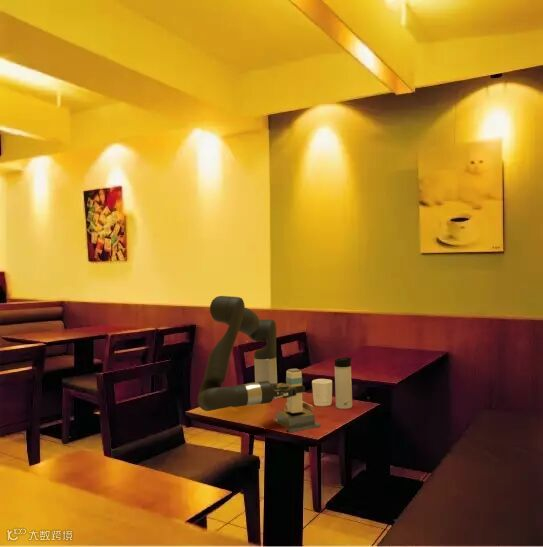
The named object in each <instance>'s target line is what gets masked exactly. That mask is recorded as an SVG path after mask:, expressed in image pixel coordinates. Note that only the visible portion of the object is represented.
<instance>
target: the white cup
mask: <svg viewBox="0 0 543 547" xmlns="http://www.w3.org/2000/svg"><path fill="white" fill-rule="evenodd" d="M311 387H312V388H311V389H312V398H313V404H314V405H315V406H317V407H327V406H331V405H332V402H333V401H332V400H333V396H332V395H333V380H332V379H330V378H329V379H327V378H317V379H313V380H312V381H311ZM314 405H313V406H314Z"/></svg>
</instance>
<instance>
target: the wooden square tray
mask: <svg viewBox="0 0 543 547" xmlns="http://www.w3.org/2000/svg"><path fill="white" fill-rule="evenodd" d="M302 404H303V409H304V410H306V411H308V412H310V413H313V412H315V410H314V405H312V404H310V403H308V402H306V401H304V400H302ZM286 410H287V402H285V403H284V408H283V411H286Z"/></svg>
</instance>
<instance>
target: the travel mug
mask: <svg viewBox="0 0 543 547" xmlns="http://www.w3.org/2000/svg"><path fill="white" fill-rule="evenodd" d="M352 383H353V382H352V357H351V356H349V357H347V356H346V357H339V358H337V359H334V386H335V387H334V388H335V389H334V390H335V394H334V395H335V408H337V409H339V410H340V409H341V410H346V409H348V410H349V409H352V408H353V390H352V389H353V388H352V386H353V385H352Z"/></svg>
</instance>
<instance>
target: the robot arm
mask: <svg viewBox="0 0 543 547" xmlns="http://www.w3.org/2000/svg"><path fill="white" fill-rule="evenodd" d="M209 311H210V312H209V313H210V315H211V318H212V319H213V320H214V321H215V322H217V323H223V324H226V325H228V327H227V330H226V332H225V333H224V334H223V336H222V338H221V339H220V340H219V341H218V343H216V344H215V345H214V347H213V348H212V349H211V351H210V354H209V355H208V359H207V362H206V363H207V364H206V367H205V368H206V369H205V373H204V374H205V375H204V377H203V380H202V383H201V385H200V387H199V391H198V395H197V404H198V406H199V408H200V409H201V410H203V411H204V412H210V411H211V412H212V411H216V410H221V409H226V408H239V407H246V406H259V405H265V404H270V403H272V402H273V400H277V399H278V398H279V399H280V398H283V399H287V398H288V397H292V396H296V393H302V394H303V393H305V392H306V387H305V385H302V386H296V387H294V386H293V387H289V386H287V383H286V382H279V383H278V374H277V373H278V371H277V325H276V321H275V320H274V319H260V318H259V316H258V315H257V313H255V311H253V310H251V309H250V308H248V307H245V302H244V300H243V298H242V297H239V296H228V295H219V296H216V297H215V298H213V299H212V300H211V301H210V306H209ZM239 332H240V333H242V334H244V335H245V336H247V337H248V338H250V339H251V340H252V341H253V342H258V343H259V342H266V344H265V346H263V347H262V348H259V349H256V350H255V351H254V353H253V360H254V361H253V362H254V382H249V383H245V384H244V383H243V384H237V385H232V386H222V385H223V383H224V382H225V380H226V377H227V374H228V369H229V362H230V358H231V355H232V351H233V348H234V346H235V342H236V340H237V337H238V334H239Z"/></svg>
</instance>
